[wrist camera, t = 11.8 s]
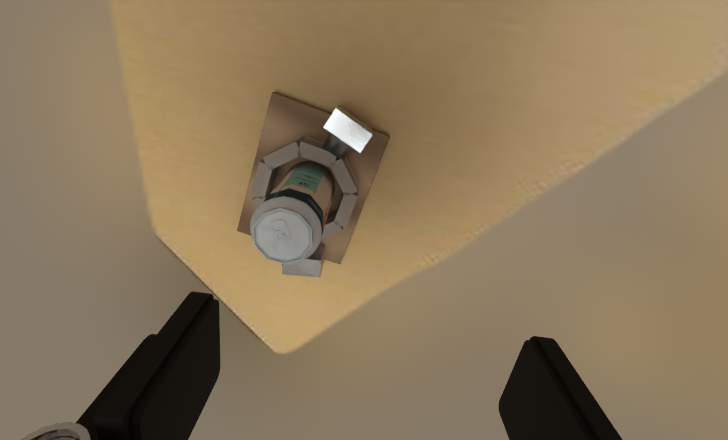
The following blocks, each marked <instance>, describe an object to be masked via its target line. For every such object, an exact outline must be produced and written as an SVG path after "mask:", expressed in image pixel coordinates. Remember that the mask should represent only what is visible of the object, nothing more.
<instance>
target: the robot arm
mask: <svg viewBox="0 0 728 440" xmlns="http://www.w3.org/2000/svg"><path fill="white" fill-rule="evenodd" d="M219 371H220V330H219V301H218V300H214V299H213V295H212V294H207V293H199V292H191V293H190V294H189V295H188V296H187V297H186V298H185V300H184V301H183V302H182V303H181V305H180V306H179V308H178V309H177V310H176V311H175V312H174V314H173V315H172V316H171V317H170V319H169V320H168V321H167V323H166V324H165V325H164V326H163V328H162V329H161V330H160V331H159V333H158V334H157V335H155V334H151V335H149V336H147V338H146V339H144V340H143V342H142V343H141V344H140V345H139V347H138V348H137V349H136V350H135V351H134V353H133V354H132V355H131V356H130V357H129V359H128V360H127V361H126V362H125V364H124V365H123V366H122V367H121V368H120V370H119V371H118V372H117V373H116V374H115V376H114V377H113V378H112V379H111V381H110V382H109V383H108V384H107V385H106V387H105V388H104V389H103V390H102V392H101V393H100V394H99V395H98V397H97V398H96V399H95V400H94V402H93V403H92V404H91V405H90V406H89V407H88V409H87V410H86V411H85V412H84V413H83V415H82V416H81V417H80V418H79V420H78V421H77V422H76V423H72V422H66V423H56V424H53V425H50V426H46V427H44V428H41V429H39V430H37V431H35V432H33V433H31V434H29V435H27V436H26V437H24V438H23V439H21V440H188V438H189V437H190V435H191V432H192V430H193V428H194V426H195V424H196V422H197V420H198V418H199V416H200V414H201V412H202V410H203V408H204V406H205V403H206V402H207V399H208V397H209V395H210V393H211V391H212V389H213V387H214V385H215V383H216V381H217V378H218V375H219ZM499 412H500V416H501V418H502V421H503V424H504V426H505V429H506V432H507V434H508V437H509V440H622V439H621V437H620V436H619V434H618V433H617V431H616V430H615V428H614V427H613V425H612V424H611V422H610V421H609V419H608V418H607V416H606V415H605V413H604V412H603V410H602V409H601V408H600V406H599V404H598V403H597V401H596V400H595V399H594V397H593V395H592V394H591V392H590V391H589V390H588V388H587V387H586V385H585V384H584V382H583V381H582V379H581V378H580V376H579V375H578V373H577V372H576V370H575V369H574V367H573V366H572V365H571V363H570V361H569V360H568V359H567V357H566V355H565V354H564V352H563V351H562V349H561V348H560V347H559V345H558V344H557V342H556V341H555V340H554V339H552V338H544V337H537V336H533V337H531V338H530V340H526V341H525V342H524V345H523V347H522V349H521V351H520V354H519V356H518V358H517V361H516V363H515V365H514V368H513V370H512V373H511V375H510V377H509V380H508V382H507V384H506V387H505V389H504V391H503V394H502V396H501V398H500V401H499Z"/></svg>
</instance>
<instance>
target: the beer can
mask: <svg viewBox="0 0 728 440" xmlns="http://www.w3.org/2000/svg"><path fill="white" fill-rule="evenodd" d="M334 189H335V188H334V181H333V178H332V176H331V174H330V173H329V171H328V170H327V169H326V168H325V167H323V166H322V165H320V164H317V163H315V162H301V163H299V164H296V165H294V166H293V167H292V168H291V169H290V170H289V171H288V172H287V174H286V175H285V176H284V178H283V179H282V180H281V181H280V182H279V184H278V185H277V186H276V187H275V188H274V190H273V191H272V192H271V193H270V194H269V196H268V197H267V198H266V199H265V200H264V202H263V203H262V204H261V205H260V206H259V207H258V208H257V209H256V210H255V212H254V214H253V215H252V218H251V222H250V233H251V236H252V239H253V242H254V245H255V246H256V248H257V249H258V250H259V251H260V252H261V253H262V254H263V255H264V256H265V257H266V259H269V260H272V261H275V262H279V263H282V264H288V263H293V262H298V261H301V260H304V259H306V258H308V257H309V256H310V255H312V254H313V253H314V252H315V250H316V249H317V247H318V246H319V244H320V241H321V238H322V234H323V231H324V227H325V223H326V220H327V216H328V213H329V209H330V205H331V202H332V198H333V195H334Z"/></svg>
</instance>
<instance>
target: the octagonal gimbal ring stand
mask: <svg viewBox="0 0 728 440" xmlns="http://www.w3.org/2000/svg"><path fill="white" fill-rule="evenodd" d="M331 115H332V113H330V112H327V111H324V110H322V109H319V108H317V107H314V106H311V105H309V104H306V103H303V102H301V101H298V100H295V99H293V98H290V97H287V96H285V95H282V94H279V93H277V92H272V95H271V99H270V103H269V107H268V111H267V115H266V119H265V123H264V127H263V130H262V134H261V138H260V142H259V146H258V150H257V154H256V158H255V162H254V166H253V170H252V174H251V178H250V182H249V186H248V189H247V193H246V197H245V201H244V205H243V209H242V213H241V217H240V221H239V225H238V229H237V231H239V232H242V233H245V234H248V235H251V233H250V222H251V218H252V215H253V214H254V212H255V210H256V209H257V208H258V207H259V206H260V205H261V204H262V203H263V202H264V200H265V199H266V198H267V197H268V196H269V194H270V193H271V192H272V191H273V190H274V188H275V187H276V186H277V185H278V184H279V182H280V181H281V180H282V179H283V178H284V176H285V175H286V174H287V172H288V171H289V170H290V169H291V168H292V167H293V166H294V165H296V164H299V163H301V162H315V163H317V164H320V165H322V166H323V167H325V168H326V169H327V170H328V171H329V173H330V174H331V176H332V178H333V181H334V188H335V189H334V195H333V198H332V202H331V205H330V209H329V213H328V216H327V220H326V223H325V227H324V231H323V234H322V238H321V241H320V244H325V257H324V259H325V260H328V261H332V262H335V263H338V264H341V261H342V258H343V256H344V253H345V251H346V248H347V246H348V243H349V240H350V238H351V235H352V233H353V230H354V227H355V225H356V222H357V220H358V217H359V215H360V212H361V209H362V207H363V204H364V202H365V199H366V197H367V194H368V191H369V189H370V186H371V184H372V181H373V178H374V176H375V173H376V171H377V168H378V166H379V163H380V160H381V158H382V155H383V153H384V150H385V147H386V145H387V142H388V140H389V137H390V136H389V135H388V134H385V133H383V132H380V131H377V130H375V129H372V128H371V129H372V132H373V135H372V137H371V138H370V140H369V141H368V143H367V144H366V145H365V147H364V148H363V150H362V151H361V153H359V152H358V151H356V150H355V149H354V148H352V149H351V150H350V152H349V153H348V155H347V156H346V158H345V159H344V160H342V159H340V158H338V157H336V156H334V155H333V154H331V153H330V152H329V151H328V150H326V149H325V148H324V146H323V143H324V142H325V140H326V139H327V137H328V136H329V134H330V133H331V132H329V131H328V130H327V129H325V128H324V126H325V124H326V122H327V121H328V119H329V118H330V116H331Z"/></svg>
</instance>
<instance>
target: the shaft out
mask: <svg viewBox="0 0 728 440" xmlns="http://www.w3.org/2000/svg"><path fill="white" fill-rule="evenodd" d="M324 257H325V244H319V246H318V247H317V249H316V250H315V252H314V253H313V254H312V255H310V256H309V257H308V258H306V259H304V260H301V261H298V262H293V263H288V264H282V274H286V275H298V276H310V277H320V276H321V272H322V268H323V263H324Z"/></svg>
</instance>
